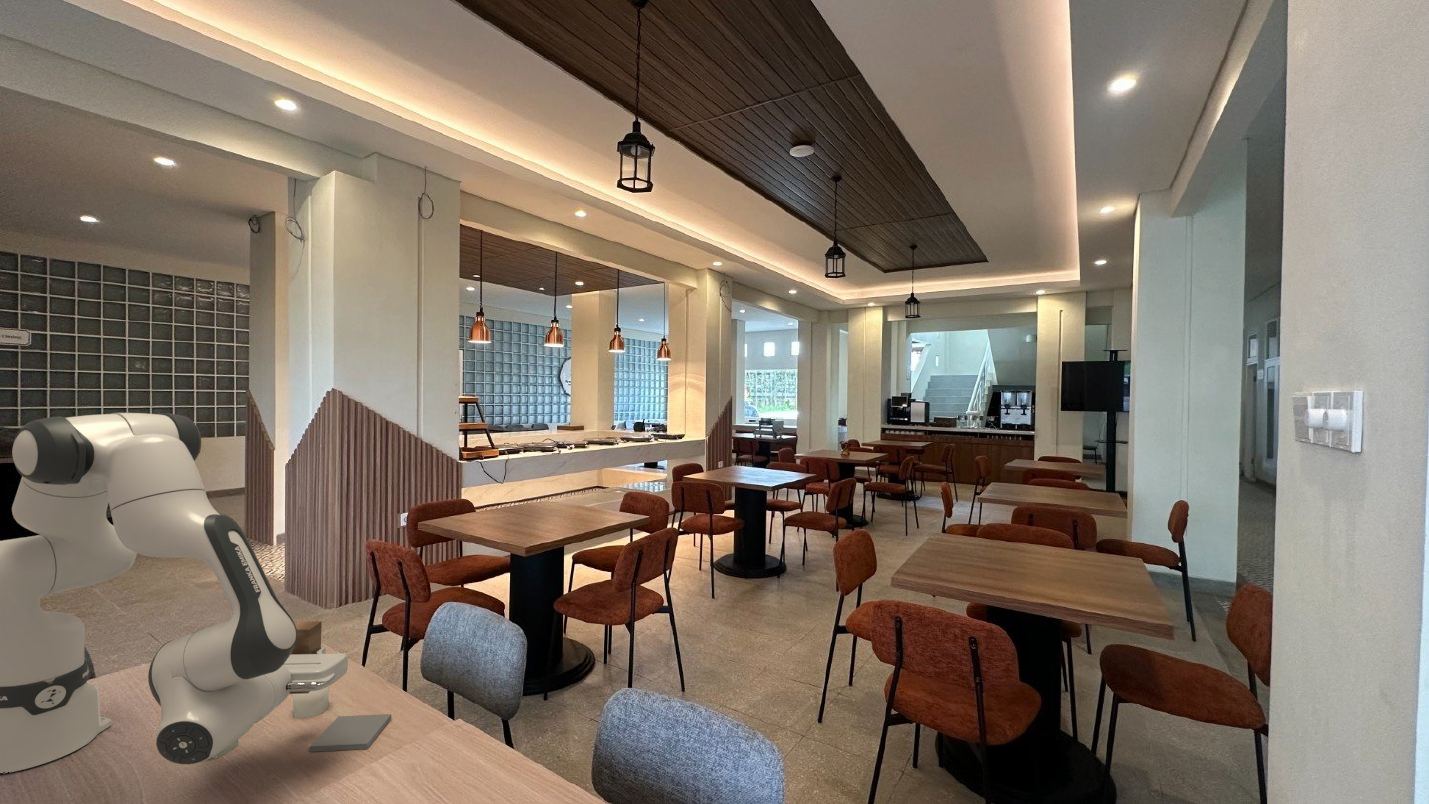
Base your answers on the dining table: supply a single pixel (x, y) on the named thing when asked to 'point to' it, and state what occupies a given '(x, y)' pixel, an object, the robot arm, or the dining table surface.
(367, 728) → the slate coaster
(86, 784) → the dining table surface
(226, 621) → the robot arm
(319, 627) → the walnut block
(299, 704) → the cream domed cylinder
